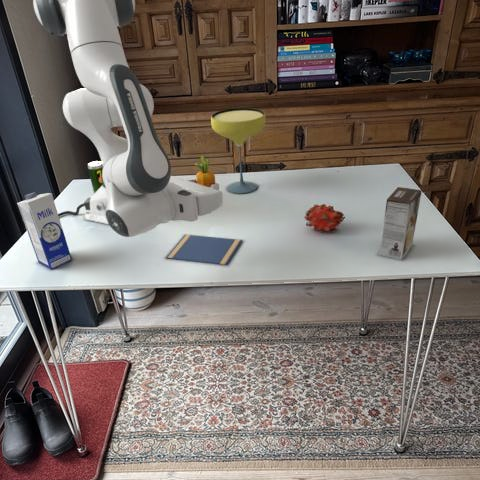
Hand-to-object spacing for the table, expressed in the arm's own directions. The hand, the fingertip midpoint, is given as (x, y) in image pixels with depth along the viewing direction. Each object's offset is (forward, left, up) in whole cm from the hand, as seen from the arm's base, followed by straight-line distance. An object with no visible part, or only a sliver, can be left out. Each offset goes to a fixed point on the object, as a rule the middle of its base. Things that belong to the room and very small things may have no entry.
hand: (208, 183), depth 124 cm
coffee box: (+49, +9, -20) cm, 54 cm away
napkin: (-3, -1, -19) cm, 20 cm away
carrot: (0, -1, -8) cm, 8 cm away
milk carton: (-43, -16, -20) cm, 50 cm away
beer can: (-54, +29, -20) cm, 65 cm away
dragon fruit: (+28, +18, -20) cm, 39 cm away
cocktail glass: (-6, +45, -20) cm, 50 cm away
